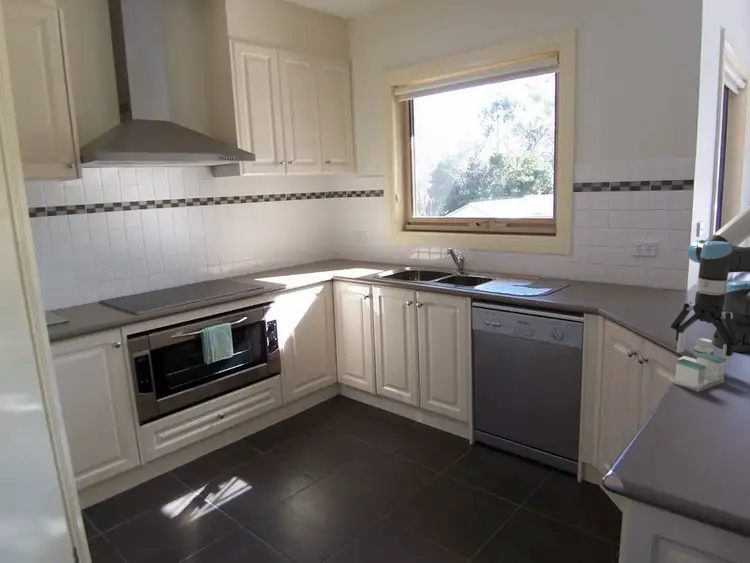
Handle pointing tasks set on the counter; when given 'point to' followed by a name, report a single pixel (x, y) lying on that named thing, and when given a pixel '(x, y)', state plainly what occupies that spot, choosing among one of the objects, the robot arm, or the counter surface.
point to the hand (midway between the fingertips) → (701, 358)
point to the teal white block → (700, 372)
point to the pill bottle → (703, 347)
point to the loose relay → (688, 359)
